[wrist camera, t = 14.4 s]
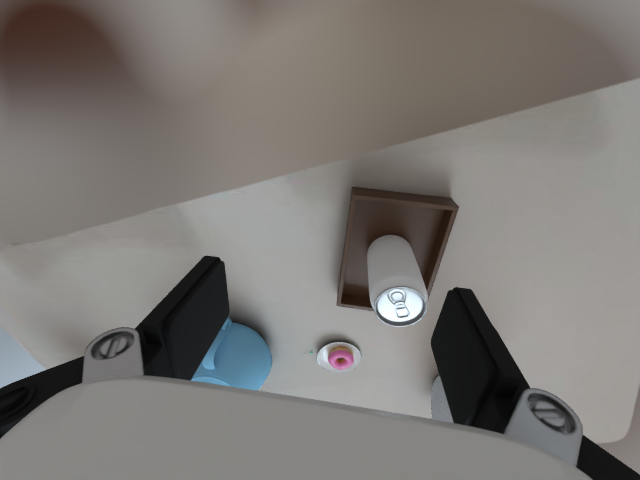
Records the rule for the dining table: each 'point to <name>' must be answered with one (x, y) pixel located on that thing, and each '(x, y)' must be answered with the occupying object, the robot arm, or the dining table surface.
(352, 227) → the tray
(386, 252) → the can
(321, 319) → the dining table surface
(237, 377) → the teapot
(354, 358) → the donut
